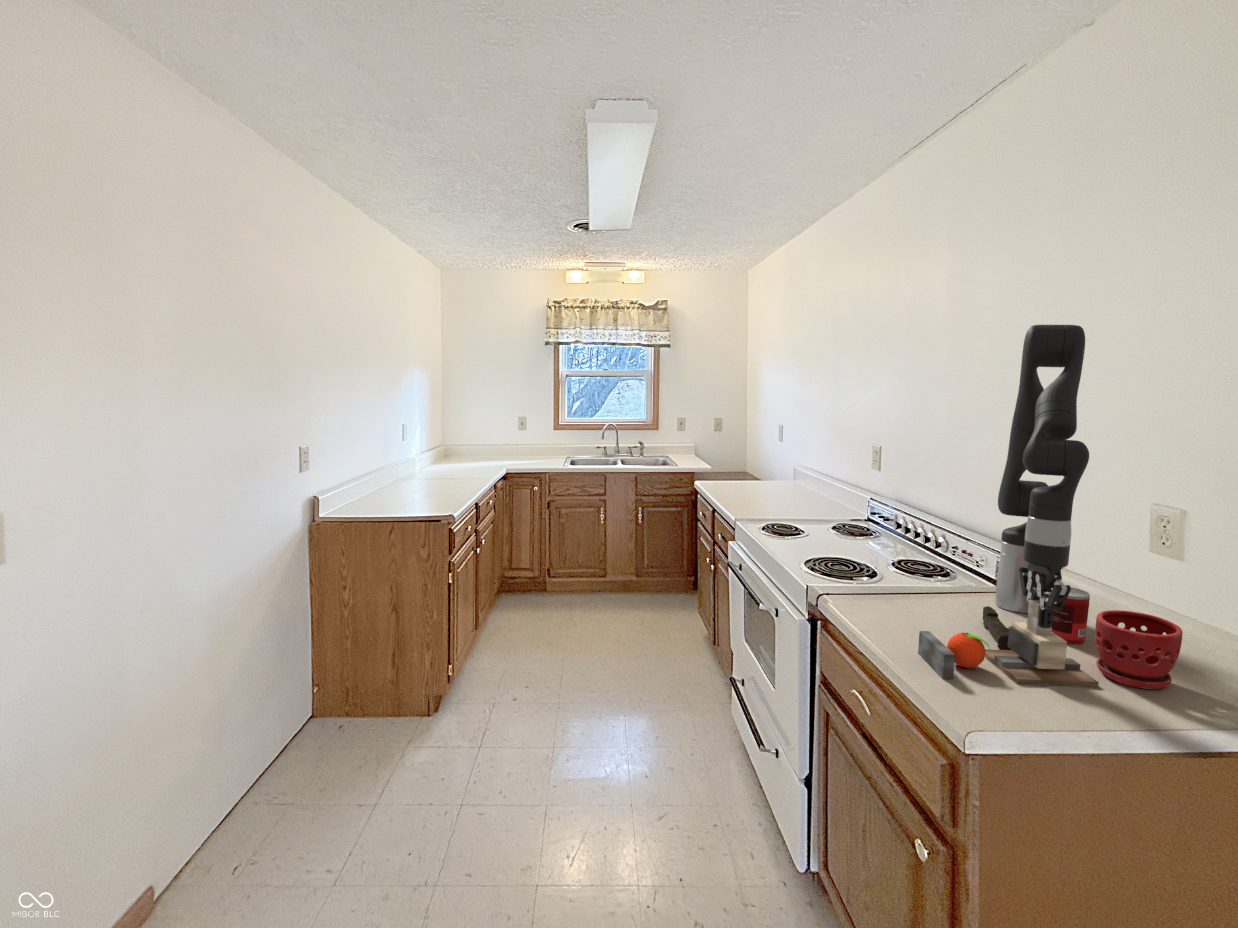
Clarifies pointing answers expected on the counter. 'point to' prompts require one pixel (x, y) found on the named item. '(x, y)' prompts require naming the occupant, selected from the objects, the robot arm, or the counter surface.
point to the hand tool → (996, 627)
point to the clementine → (967, 649)
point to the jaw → (1037, 641)
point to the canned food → (1072, 617)
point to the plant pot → (1137, 648)
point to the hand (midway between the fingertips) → (1039, 623)
